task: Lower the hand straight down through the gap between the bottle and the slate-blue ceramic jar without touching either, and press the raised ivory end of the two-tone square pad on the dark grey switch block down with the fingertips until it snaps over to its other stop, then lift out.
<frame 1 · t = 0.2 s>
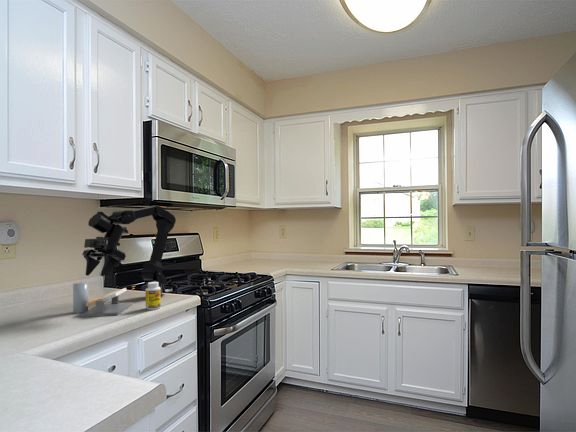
hand: (94, 275, 127), 14 cm above the counter, tool tilted 30°, fingers open, 9 cm apart
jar: (80, 311, 130), on the counter
supplement bottle: (153, 308, 134), on the counter
switch base: (108, 310, 132), on the counter
two-tone square pad: (107, 297, 132), point 5 cm above the counter, hinge at 18.0°
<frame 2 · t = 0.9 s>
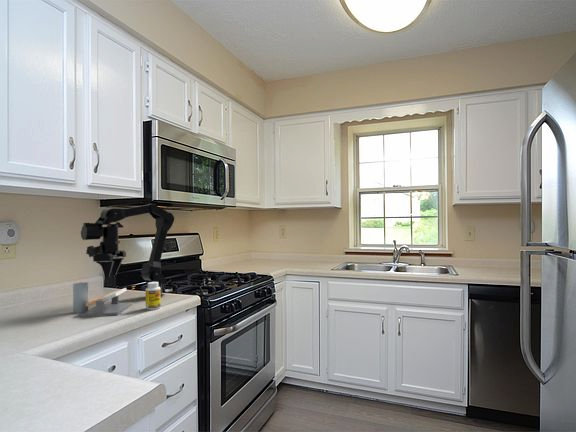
hand: (110, 276, 139), 12 cm above the counter, tool pointing down, fingers open, 7 cm apart
nothing on the counter moved.
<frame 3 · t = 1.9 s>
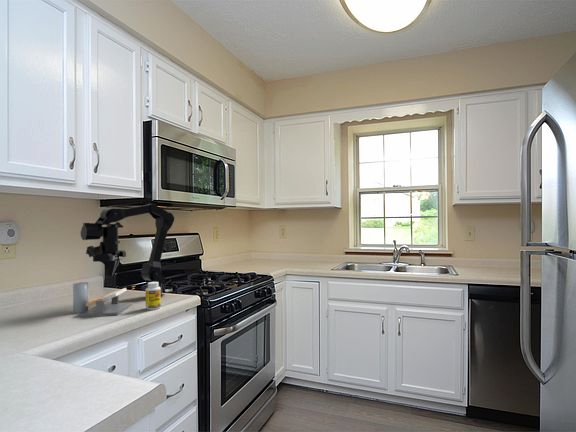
hand: (110, 276, 139), 12 cm above the counter, tool pointing down, fingers closed
nothing on the counter moved.
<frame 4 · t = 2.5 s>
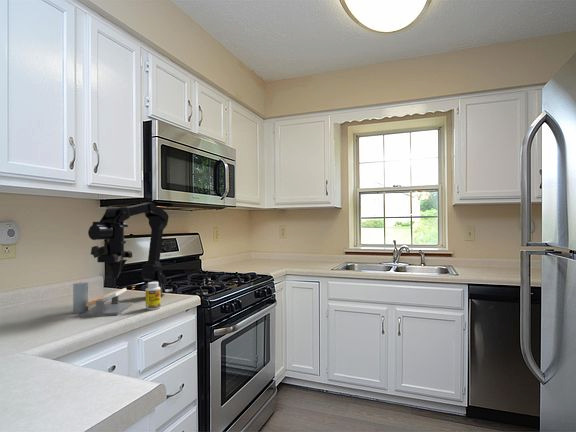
hand: (116, 278, 133), 12 cm above the counter, tool pointing down, fingers closed
nothing on the counter moved.
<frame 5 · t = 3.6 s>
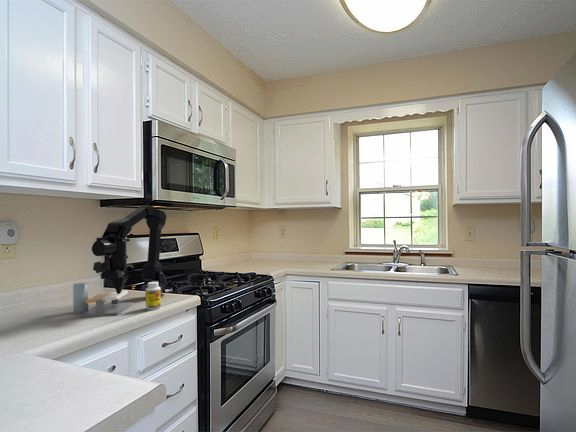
hand: (118, 293, 132), 6 cm above the counter, tool pointing down, fingers closed, pressing on two-tone square pad
two-tone square pad: (107, 297, 132), point 5 cm above the counter, hinge at 5.5°, touching gripper
everything else where it was.
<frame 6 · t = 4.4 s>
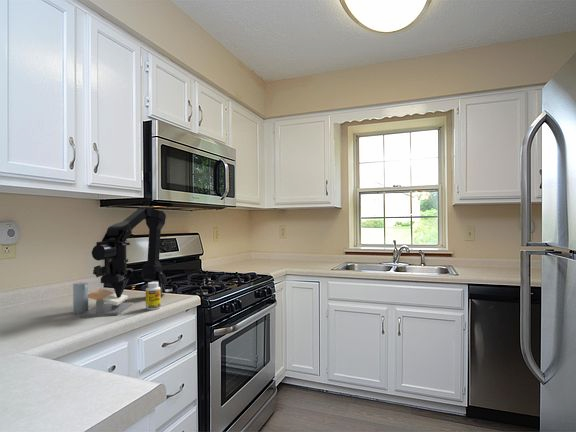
hand: (118, 297, 132), 5 cm above the counter, tool pointing down, fingers closed
two-tone square pad: (108, 297, 132), point 5 cm above the counter, hinge at -18.1°
everything else where it was.
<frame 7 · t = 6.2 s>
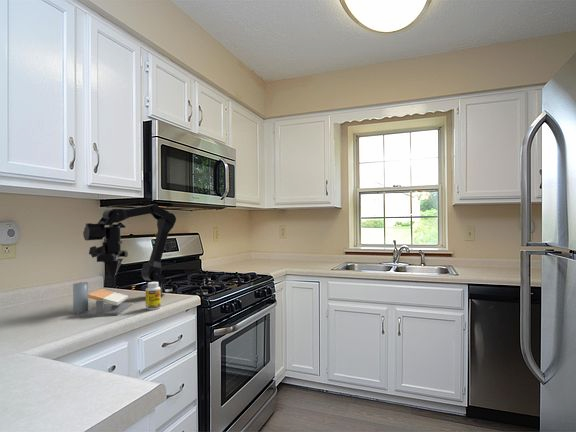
hand: (113, 276, 140), 12 cm above the counter, tool pointing down, fingers closed
nothing on the counter moved.
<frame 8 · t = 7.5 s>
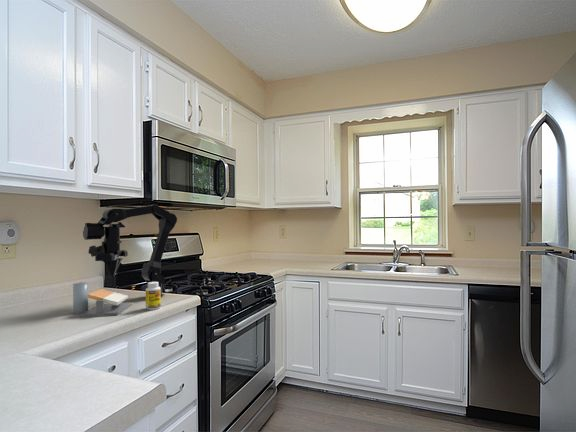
hand: (112, 275, 141), 12 cm above the counter, tool pointing down, fingers closed
nothing on the counter moved.
at the end: two-tone square pad at -18° (first picture: +18°); supplement bottle moved 0.2 cm from its start; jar moved 0.0 cm from its start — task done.
